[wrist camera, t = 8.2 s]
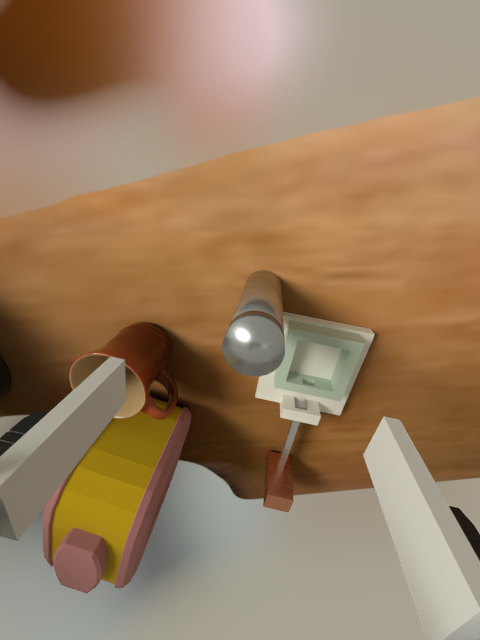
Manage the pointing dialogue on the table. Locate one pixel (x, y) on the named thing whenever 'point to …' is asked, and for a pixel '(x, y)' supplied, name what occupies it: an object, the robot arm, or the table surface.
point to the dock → (315, 367)
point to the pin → (281, 472)
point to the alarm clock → (113, 500)
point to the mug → (134, 368)
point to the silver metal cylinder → (257, 327)
